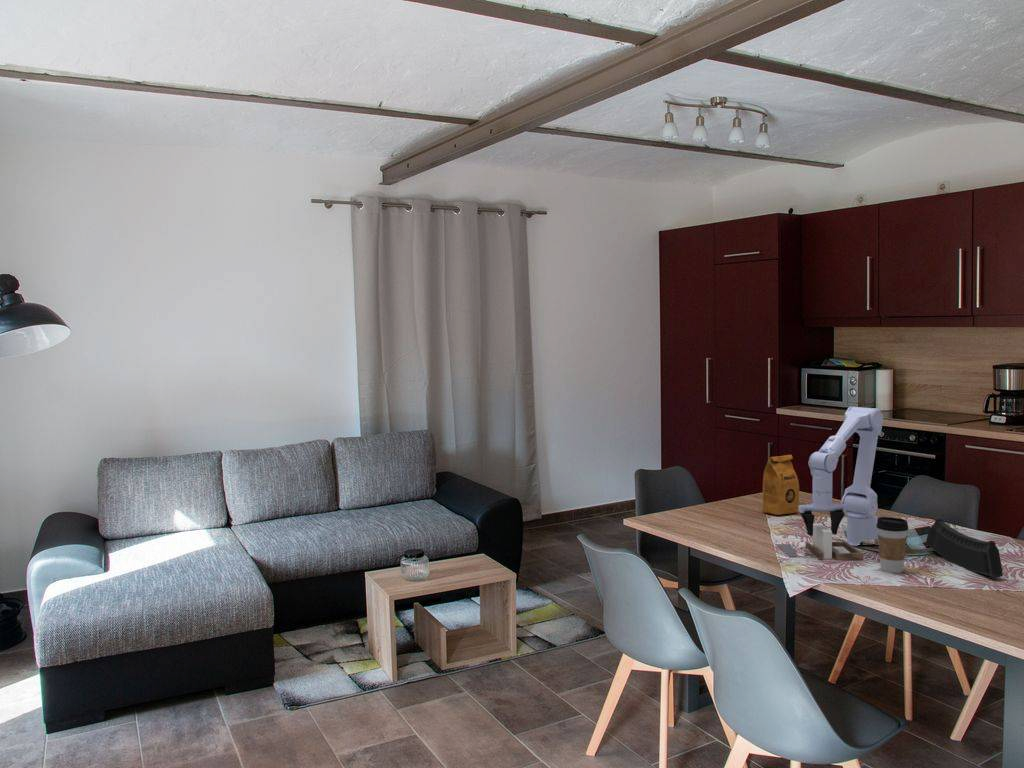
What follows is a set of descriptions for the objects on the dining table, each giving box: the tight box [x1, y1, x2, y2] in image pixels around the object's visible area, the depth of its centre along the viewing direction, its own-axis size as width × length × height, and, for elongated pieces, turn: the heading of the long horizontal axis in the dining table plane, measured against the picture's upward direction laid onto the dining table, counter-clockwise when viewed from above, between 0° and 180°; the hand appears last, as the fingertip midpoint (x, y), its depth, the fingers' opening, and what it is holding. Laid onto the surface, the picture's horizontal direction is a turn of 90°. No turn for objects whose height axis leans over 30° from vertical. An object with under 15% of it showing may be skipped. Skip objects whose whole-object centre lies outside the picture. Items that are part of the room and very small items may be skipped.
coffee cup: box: [876, 516, 909, 574], centre depth 236 cm, size 8×8×15 cm
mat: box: [775, 543, 813, 558], centre depth 258 cm, size 7×14×1 cm, turn 179°
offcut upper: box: [832, 547, 850, 553], centre depth 254 cm, size 3×7×1 cm, turn 176°
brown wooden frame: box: [804, 540, 864, 562], centre depth 254 cm, size 13×14×2 cm
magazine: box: [925, 518, 1004, 578], centre depth 239 cm, size 17×3×30 cm
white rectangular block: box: [812, 523, 833, 560], centre depth 254 cm, size 2×10×8 cm, turn 178°
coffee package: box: [762, 454, 800, 516], centre depth 308 cm, size 10×12×22 cm
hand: (822, 534), depth 254 cm, fingers open, 7 cm apart
